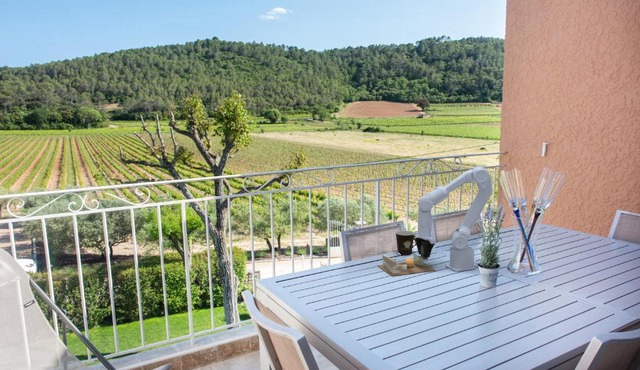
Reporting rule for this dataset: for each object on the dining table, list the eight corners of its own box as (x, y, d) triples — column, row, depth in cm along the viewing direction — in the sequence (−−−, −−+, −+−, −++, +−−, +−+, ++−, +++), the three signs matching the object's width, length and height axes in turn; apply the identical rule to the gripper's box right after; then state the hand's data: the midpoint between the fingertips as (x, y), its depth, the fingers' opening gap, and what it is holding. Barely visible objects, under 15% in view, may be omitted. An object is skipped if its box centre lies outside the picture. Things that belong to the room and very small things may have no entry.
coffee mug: (394, 255, 223) (394, 234, 221) (396, 250, 231) (397, 230, 229) (419, 257, 219) (420, 236, 218) (421, 252, 227) (421, 231, 226)
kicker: (423, 261, 209) (423, 243, 208) (430, 265, 204) (431, 247, 203) (413, 262, 208) (413, 244, 207) (420, 266, 202) (420, 248, 201)
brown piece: (418, 261, 213) (419, 249, 213) (435, 270, 200) (435, 258, 199) (377, 266, 207) (377, 254, 207) (392, 276, 194) (392, 263, 193)
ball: (411, 265, 207) (411, 256, 206) (415, 268, 203) (415, 258, 202) (402, 266, 206) (403, 257, 205) (407, 269, 202) (407, 259, 201)
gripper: (407, 222, 209) (407, 252, 211) (424, 229, 196) (424, 261, 198) (422, 220, 211) (421, 250, 213) (440, 227, 198) (439, 259, 200)
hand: (424, 255), depth 206 cm, fingers open, 4 cm apart
